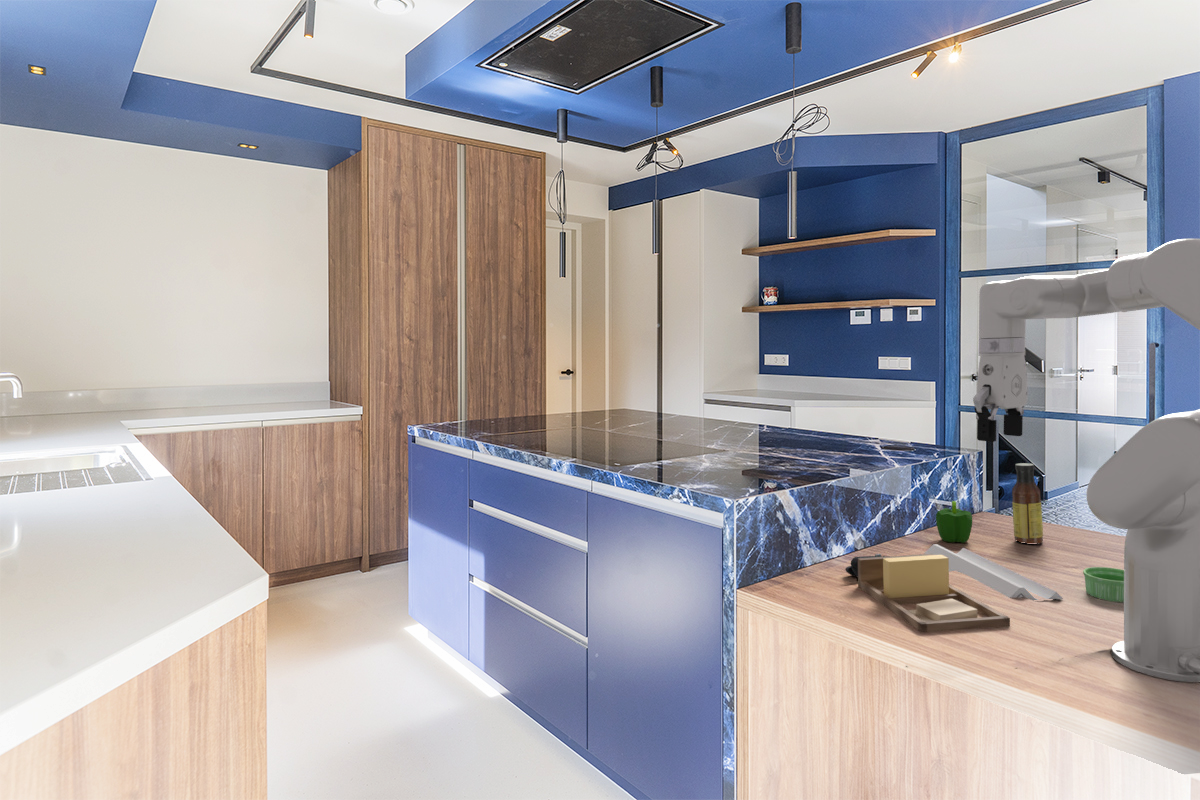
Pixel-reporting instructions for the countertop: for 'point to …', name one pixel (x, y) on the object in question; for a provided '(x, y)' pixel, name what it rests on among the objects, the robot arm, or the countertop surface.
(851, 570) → the can opener
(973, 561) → the crown molding
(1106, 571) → the ramekin
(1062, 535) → the countertop surface
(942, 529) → the bell pepper
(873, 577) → the rack
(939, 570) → the panel
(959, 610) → the offcut upper
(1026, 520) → the sauce bottle
